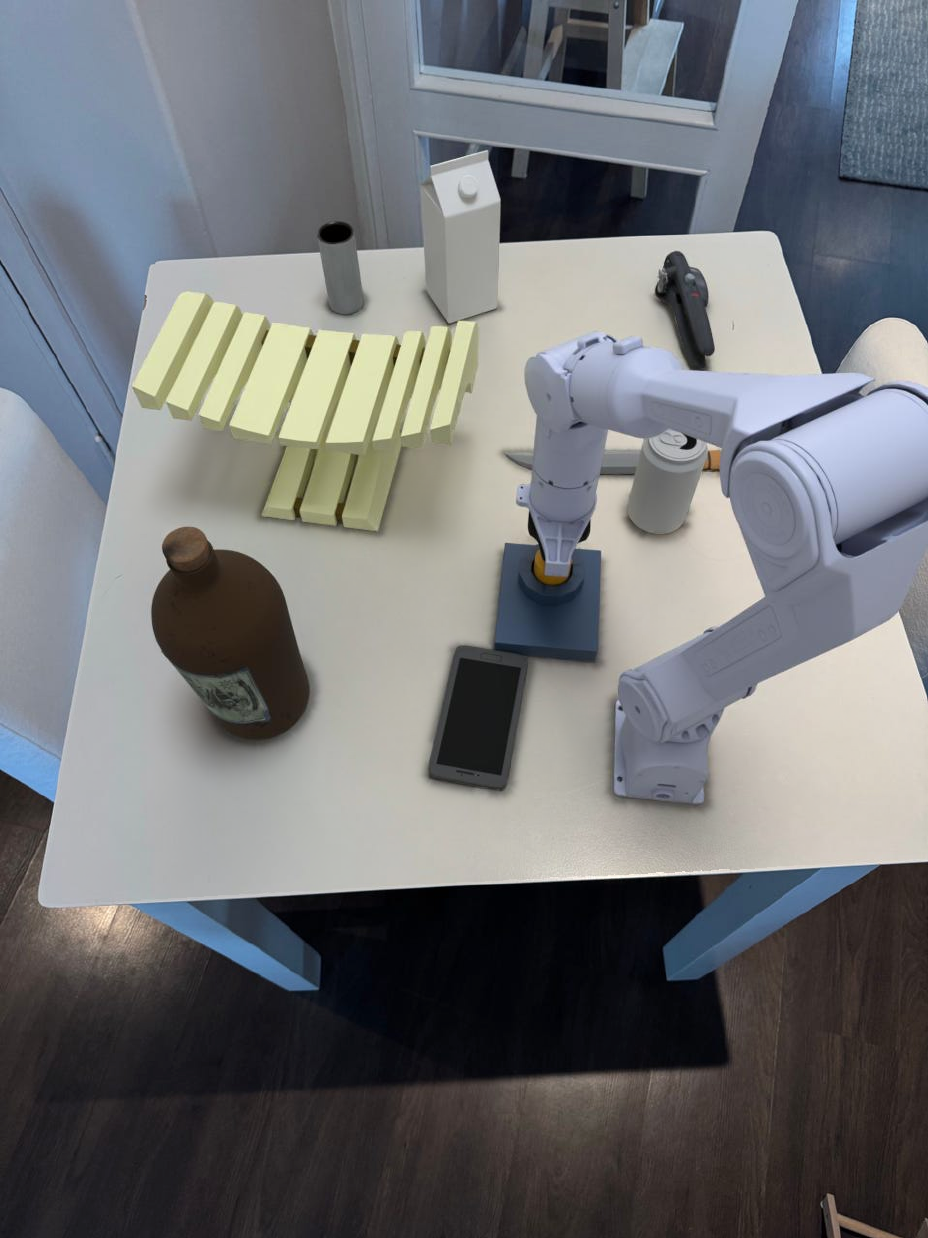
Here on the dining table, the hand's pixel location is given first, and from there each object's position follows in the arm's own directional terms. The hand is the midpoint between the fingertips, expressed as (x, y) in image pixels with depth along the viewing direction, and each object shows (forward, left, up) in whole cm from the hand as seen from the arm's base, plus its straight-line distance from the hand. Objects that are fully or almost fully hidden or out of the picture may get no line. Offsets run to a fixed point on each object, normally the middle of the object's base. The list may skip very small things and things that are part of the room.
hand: (553, 556), depth 81 cm
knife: (+18, -9, -6) cm, 21 cm away
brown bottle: (-15, +27, -6) cm, 32 cm away
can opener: (+42, -15, -6) cm, 45 cm away
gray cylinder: (+42, +29, -6) cm, 51 cm away
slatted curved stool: (+14, +25, -6) cm, 29 cm away
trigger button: (0, 0, -2) cm, 2 cm away
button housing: (-2, 0, -6) cm, 6 cm away
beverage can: (+11, -11, -6) cm, 17 cm away
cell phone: (-15, +6, -6) cm, 17 cm away
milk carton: (+44, +14, -6) cm, 47 cm away
